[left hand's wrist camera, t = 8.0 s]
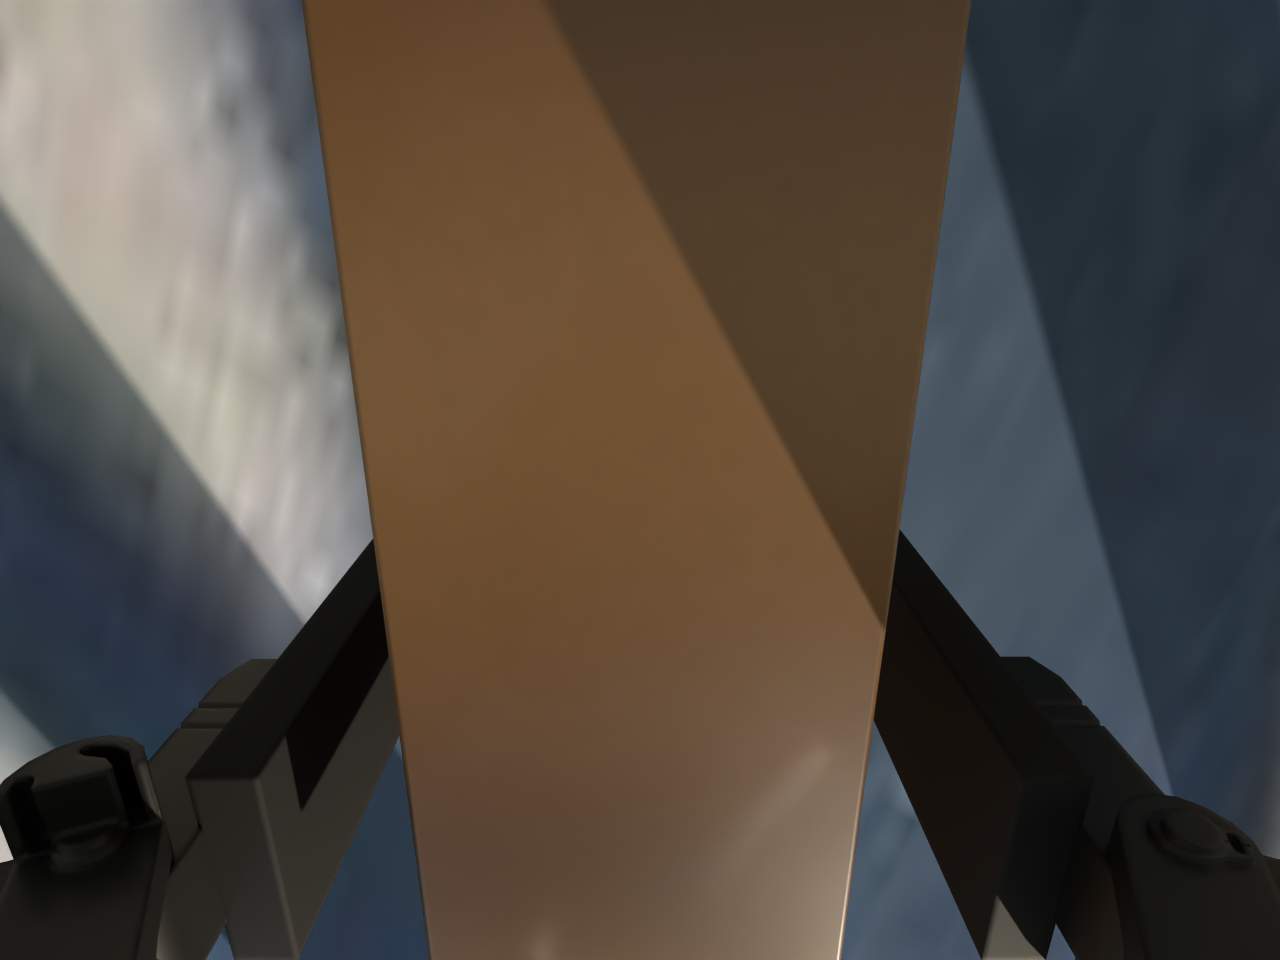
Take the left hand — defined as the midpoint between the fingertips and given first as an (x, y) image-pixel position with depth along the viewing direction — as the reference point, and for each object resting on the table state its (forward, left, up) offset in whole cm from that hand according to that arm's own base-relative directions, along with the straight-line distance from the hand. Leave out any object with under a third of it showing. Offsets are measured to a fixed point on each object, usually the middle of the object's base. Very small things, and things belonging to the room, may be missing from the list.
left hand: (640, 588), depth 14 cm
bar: (+10, +3, -1) cm, 10 cm away
